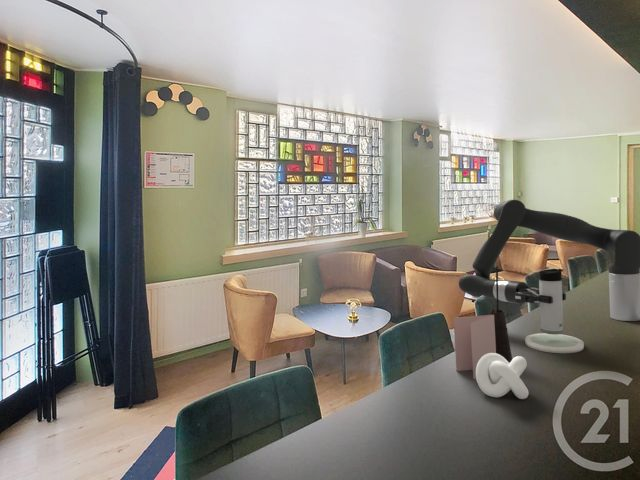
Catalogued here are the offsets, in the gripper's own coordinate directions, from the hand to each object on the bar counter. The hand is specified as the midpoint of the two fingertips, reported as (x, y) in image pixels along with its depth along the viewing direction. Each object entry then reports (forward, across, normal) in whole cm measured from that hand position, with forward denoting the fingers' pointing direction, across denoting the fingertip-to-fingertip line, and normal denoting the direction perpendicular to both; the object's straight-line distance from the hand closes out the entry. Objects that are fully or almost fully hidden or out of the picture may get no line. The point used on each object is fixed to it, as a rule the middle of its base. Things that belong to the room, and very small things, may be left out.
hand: (558, 298), depth 124 cm
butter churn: (-4, -22, +16) cm, 28 cm away
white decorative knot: (+12, -41, +15) cm, 46 cm away
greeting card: (0, -35, +16) cm, 39 cm away
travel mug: (-2, 0, +11) cm, 11 cm away
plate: (-2, 0, +15) cm, 15 cm away
